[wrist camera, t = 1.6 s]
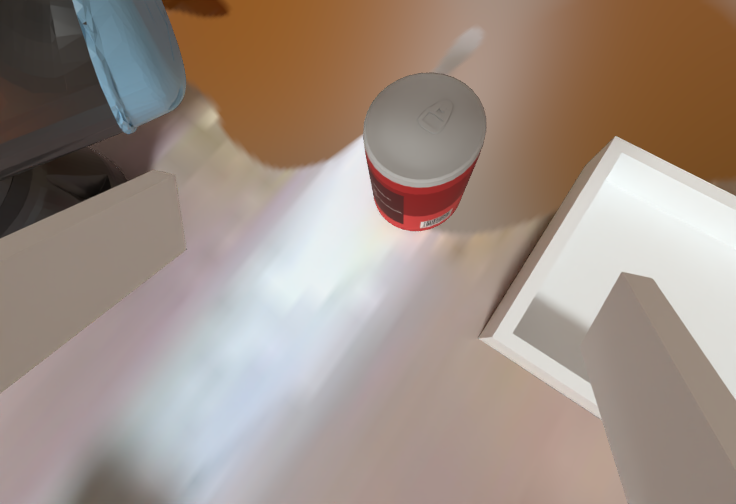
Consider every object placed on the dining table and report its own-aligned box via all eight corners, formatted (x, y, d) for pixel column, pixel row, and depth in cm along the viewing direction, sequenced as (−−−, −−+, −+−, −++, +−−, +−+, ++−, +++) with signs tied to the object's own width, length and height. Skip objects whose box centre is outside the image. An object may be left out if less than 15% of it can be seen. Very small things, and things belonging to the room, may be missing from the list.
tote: (478, 338, 32) (492, 337, 27) (585, 165, 34) (615, 135, 29) (725, 501, 28) (794, 535, 23) (824, 291, 30) (905, 281, 25)
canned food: (474, 170, 35) (506, 93, 24) (438, 248, 34) (456, 203, 23) (397, 140, 36) (395, 54, 26) (359, 214, 35) (341, 156, 24)
